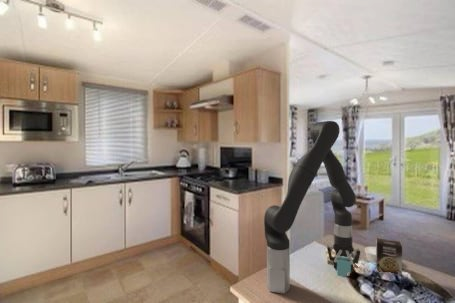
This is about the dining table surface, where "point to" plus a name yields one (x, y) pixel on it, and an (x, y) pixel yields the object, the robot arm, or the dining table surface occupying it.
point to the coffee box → (388, 256)
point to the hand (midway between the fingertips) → (343, 270)
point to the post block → (332, 255)
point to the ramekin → (371, 254)
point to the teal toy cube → (343, 266)
